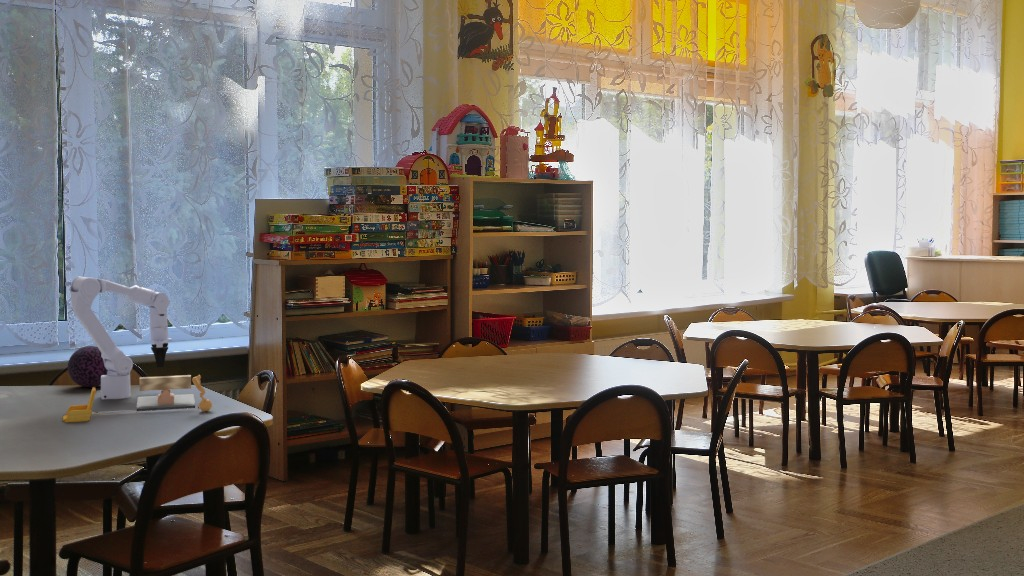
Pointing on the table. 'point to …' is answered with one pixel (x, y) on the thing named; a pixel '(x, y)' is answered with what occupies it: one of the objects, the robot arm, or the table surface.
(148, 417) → the table surface
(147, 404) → the board
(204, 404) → the figurine
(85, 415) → the yellow toy chair
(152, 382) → the pine batten
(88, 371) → the toy ball
